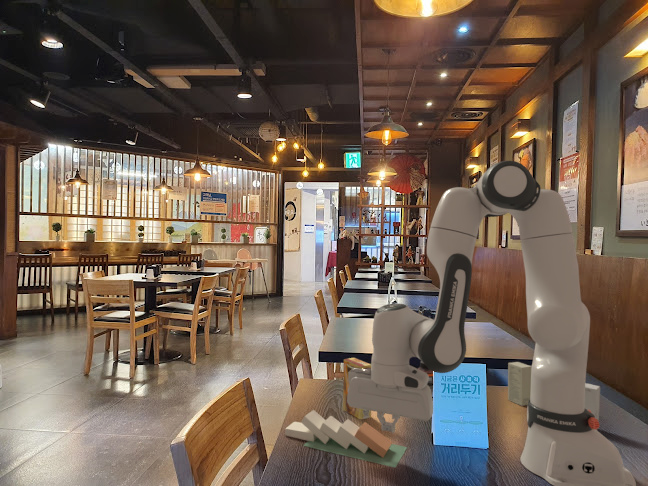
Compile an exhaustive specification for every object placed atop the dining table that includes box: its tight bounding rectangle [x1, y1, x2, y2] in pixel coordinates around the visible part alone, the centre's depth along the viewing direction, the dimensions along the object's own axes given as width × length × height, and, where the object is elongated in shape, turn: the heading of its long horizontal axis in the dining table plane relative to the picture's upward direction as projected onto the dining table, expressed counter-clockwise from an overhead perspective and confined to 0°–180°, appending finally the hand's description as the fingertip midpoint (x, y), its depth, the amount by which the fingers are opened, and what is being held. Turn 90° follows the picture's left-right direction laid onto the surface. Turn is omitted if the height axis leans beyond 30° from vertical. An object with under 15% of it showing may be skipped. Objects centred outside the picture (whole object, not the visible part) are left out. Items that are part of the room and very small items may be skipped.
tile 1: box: [355, 421, 394, 458], centre depth 109 cm, size 2×5×8 cm
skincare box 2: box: [585, 382, 601, 431], centre depth 127 cm, size 6×4×12 cm
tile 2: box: [337, 418, 369, 454], centre depth 111 cm, size 2×5×8 cm
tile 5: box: [284, 421, 318, 442], centre depth 117 cm, size 2×5×8 cm
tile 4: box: [300, 409, 331, 444], centre depth 115 cm, size 2×5×8 cm
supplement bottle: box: [417, 360, 433, 392], centre depth 149 cm, size 6×6×11 cm
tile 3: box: [320, 415, 351, 449], centre depth 113 cm, size 2×5×8 cm
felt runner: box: [302, 438, 408, 469], centre depth 111 cm, size 23×11×1 cm, turn 66°
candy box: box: [342, 357, 372, 420], centre depth 132 cm, size 9×4×15 cm, turn 33°
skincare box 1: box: [507, 361, 532, 407], centre depth 146 cm, size 6×4×12 cm
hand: (388, 431), depth 108 cm, fingers closed
